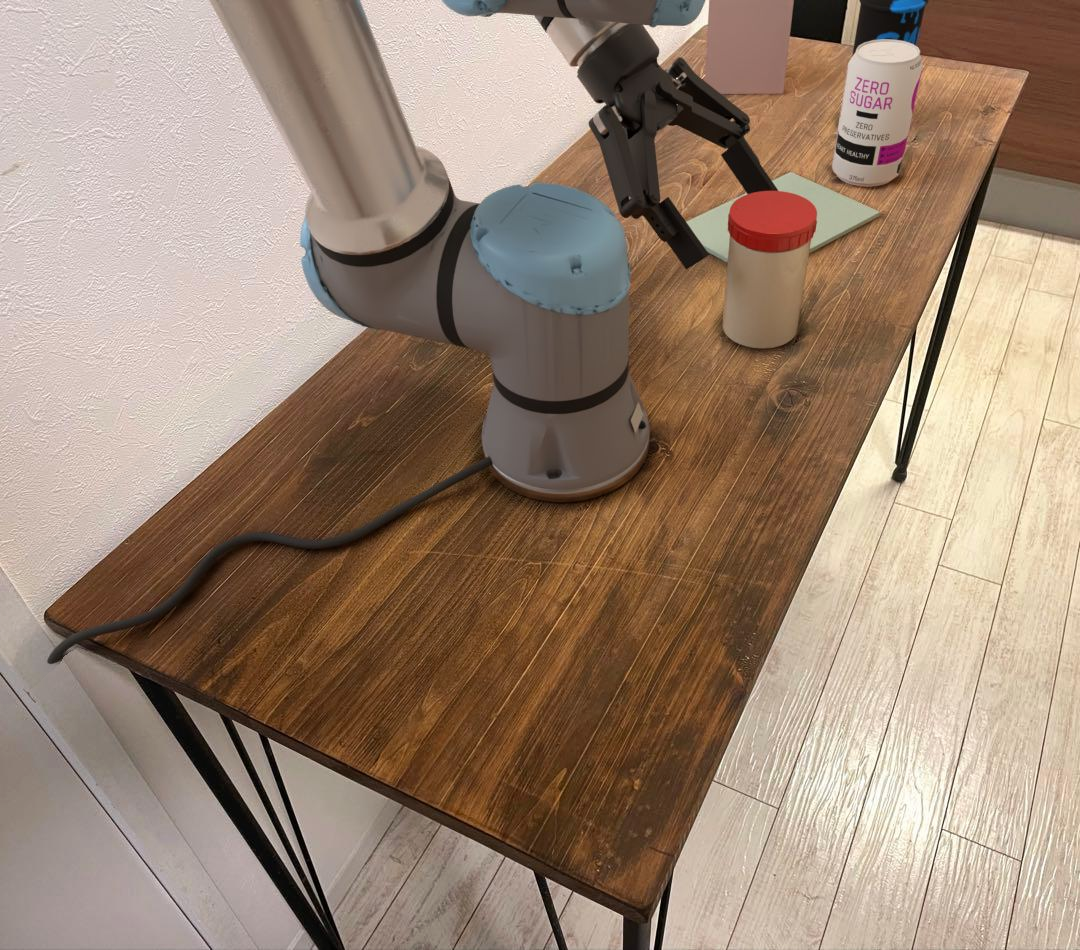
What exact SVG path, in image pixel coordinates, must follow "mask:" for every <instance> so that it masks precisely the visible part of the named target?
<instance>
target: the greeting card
mask: <svg viewBox="0 0 1080 950" xmlns="http://www.w3.org/2000/svg"><path fill="white" fill-rule="evenodd" d="M794 3H795V0H708V14H707V15H708V16H707V33H706V50H705V52H706V54H705V70H704V81H705V82H706V83H708V84H709V85H710V86H711V87H713V88H714V89H715V90H717V91H718V92H719V93H720V94H722V95H780V94H781V95H783V94H784V92H785V91H784V90H785V82H786V81H785V80H786V73H787V65H788V64H787V63H788V56H789V55H788V54H789V46H790V38H791V30H792V29H791V28H792V19H793V11H794Z"/></svg>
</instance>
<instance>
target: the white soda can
mask: <svg viewBox="0 0 1080 950" xmlns="http://www.w3.org/2000/svg"><path fill="white" fill-rule="evenodd" d="M848 61H849V62H848V63H847V69H846V74H845V75H846V76H845V81H844V89H843V93H842V99H841V100H842V101H841V107H840V113H839V119H838V126H837V130H836V131H837V132H836V137H835V143H834V150H833V158H832V162H831V168H832V172H833V173H834V174H836V177H837V178H838V179H840V180H841V181H842V182H844V183H846V184H848V185H852V186H857V187H864V188H865V187H866V188H871V187H879V186H883V185H885V184H888V183H890V182H891V181H892V180H894V179H895V178H896V177H898V176H899V175H900V172H901V170H902V165H903V161H904V157H905V152H906V147H907V142H908V137H909V134H910V129H911V125H912V124H911V123H912V120H913V115H914V111H915V105H916V101H917V97H918V92H919V87H920V83H921V77H922V73H923V68H924V64H923V61H922V57H921V49H920V48H919V47H918V45H917V46H915V45H914V44H911V43H908V42H905V41H900V40H891V39H881V40H872V41H869V42H865V43H863V44H861V45H859V46H858V48H857V49H856V52H855V54H854V55H853V57H852V56H851V58H850V59H849V60H848Z"/></svg>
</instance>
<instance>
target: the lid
mask: <svg viewBox="0 0 1080 950" xmlns="http://www.w3.org/2000/svg"><path fill="white" fill-rule="evenodd" d="M816 219H817V210H816V208H815V206H814V205H813V204H812V203H811V202H810V201H809V200H807V199H806V198H804V197H802V196H799V195H796V194H793V193H789V192H783V191H760V192H754V193H750V194H747V195H745V196H742V197H740V198H739V199H737V200H736V201H735V202H734V203H733V204H732V205H731V207H730V212H729V215H728V231H729V234H730V237H732V238H733V239H734V240H735V241H736V242H737V243H739V244H741V245H743V246H745V247H748V248H751V249H754V250H759V251H768V252H780V251H787V250H792V249H796V248H798V247H801V246H803V245H804V244H806V243H808V242H809V241H810V240H811V238H813V235H814V232H815V231H816V225H817V220H816Z"/></svg>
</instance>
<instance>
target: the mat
mask: <svg viewBox="0 0 1080 950" xmlns="http://www.w3.org/2000/svg"><path fill="white" fill-rule="evenodd" d="M771 180H772V179H771ZM772 182H773V183H774V185H775V186H776V188H777V189H778V191H783V192H789V193H793V194H796V195H799V196H802V197H804V198H806V199H807V200H809V201H810V202H811V203H812V204H813V205H814V206H815V208H816V210H817V219H816V220H817V225H816V231H815V232H814V235H813V238H811V244H810V251H809V254H811V253H814V252H816V251H817V250H818V249H821V248H822V247H824V246H826V245H829V244H830V243H832V242H835V241H836V240H837V239H839V238H841V237H843V236H845V235H846V234H849V233H851V232H853V231H854V230H856V229H858V228H860V227H862V226H864V225H866V224H867V223H869V222H871V221H873V220H875V219H877V218H879V217H880V215H881V211H879V210H877V209H875V208H872V207H870V206H869V205H866V204H864V203H861V202H859V201H857V200H855V199H853V198H850V197H848V196H846V195H844V194H842V193H839V192H837V191H834V190H833V189H830V188H828V187H826V186H823V185H821V184H819V183H817V182H815V181H812V180H811V179H808V178H806V177H803V176H801V175H800V174H799V175H798V174H797V173H795V172H792V171H790V172H787V173H785V174H783V175H780V176H778V177H776V178H775V179H773V180H772ZM745 195H747V192H745V193H743V194H741V195H739V196H737V197H734V198H733V199H730V200H728V201H727V202H725V203H721V204H720V205H718V206H716V207H714V208H712V209H710V210H707V211H706V212H703V213H701V214H699V215H697V216H695V217H693V218H691V219H688V220H687V221H686V222H687V224H688V225H689V227H690V228H691V229H692V231H693V232H694V234H695V235H696V237H697V238H698V239H699V241H700V242H701V244H702V245H703V246H704V248H705V249H706V251H707V252H708V254H710V255H712V256H714V257H715V258H718V259H720V260H721V261H723V262H724V263H727V261H728V249H729V237H730V234H729V231H728V215H729V212H730V207H731V205H732V204H733V203H734V202H735V201H736V200H737V199H739V198H740V197H742V196H745Z"/></svg>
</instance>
